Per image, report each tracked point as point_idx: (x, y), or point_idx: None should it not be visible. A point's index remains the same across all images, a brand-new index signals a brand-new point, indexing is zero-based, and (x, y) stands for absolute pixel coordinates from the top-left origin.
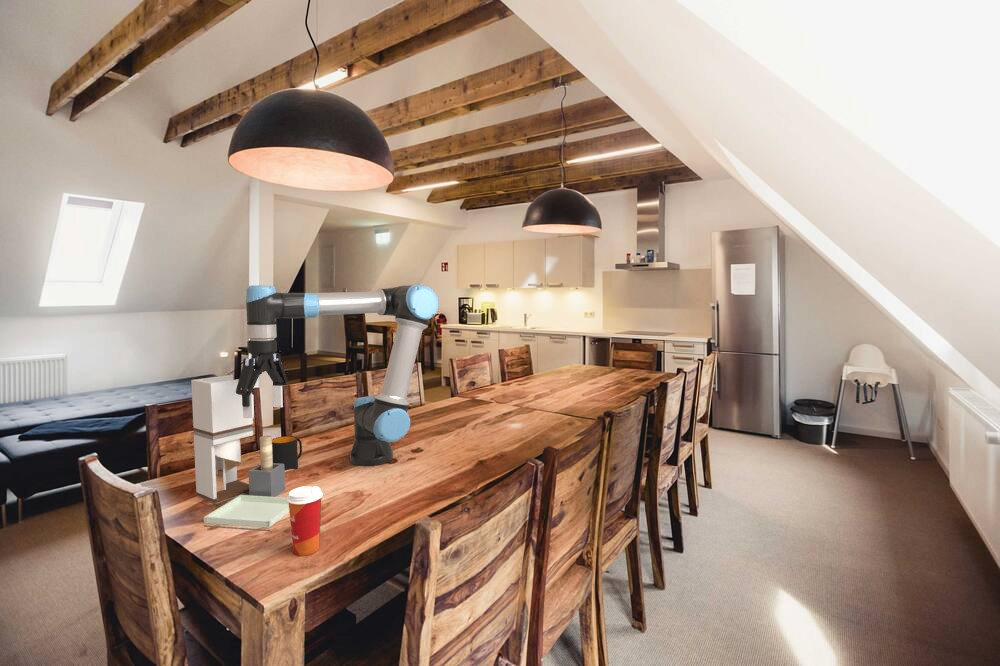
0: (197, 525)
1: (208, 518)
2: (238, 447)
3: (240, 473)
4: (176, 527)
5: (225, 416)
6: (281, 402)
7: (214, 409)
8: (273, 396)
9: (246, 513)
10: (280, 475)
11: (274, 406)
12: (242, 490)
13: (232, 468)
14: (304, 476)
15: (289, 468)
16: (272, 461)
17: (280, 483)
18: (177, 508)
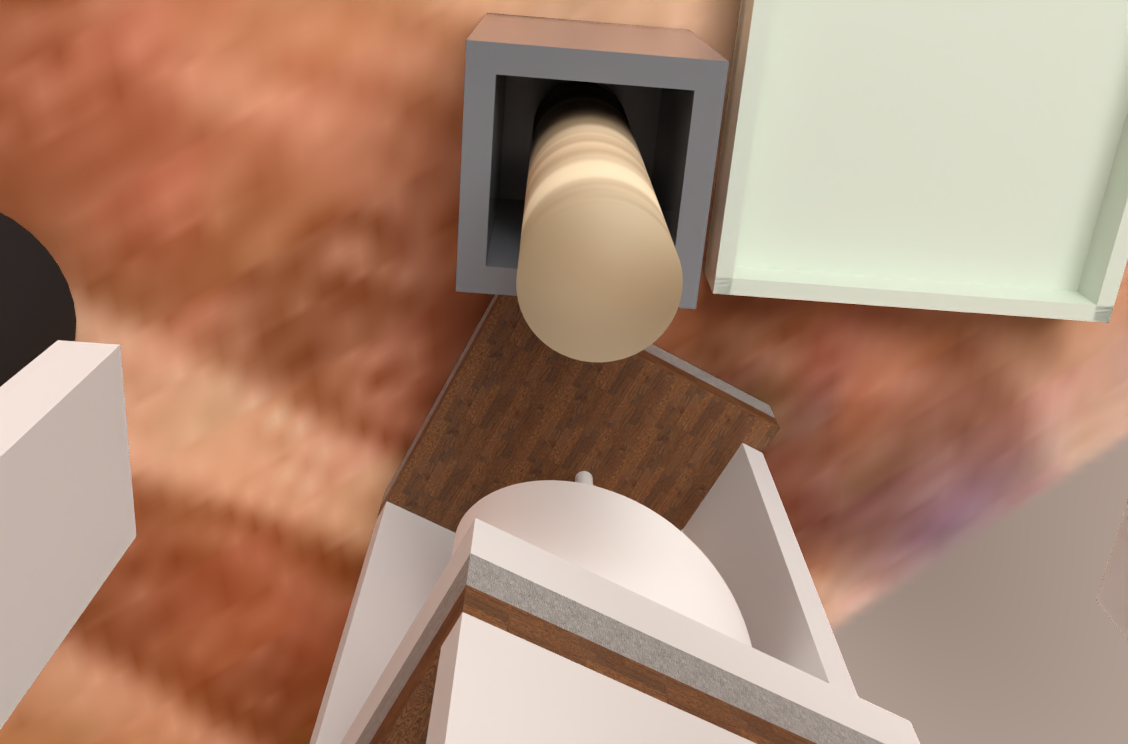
0: (1049, 353)
1: (1116, 283)
2: (581, 565)
3: (145, 594)
4: (1062, 460)
5: None
6: (57, 391)
7: None
8: (16, 685)
9: (962, 89)
10: (547, 36)
11: (125, 513)
12: None
13: (401, 575)
14: (85, 28)
15: (5, 234)
16: (570, 135)
17: (553, 28)
18: None
